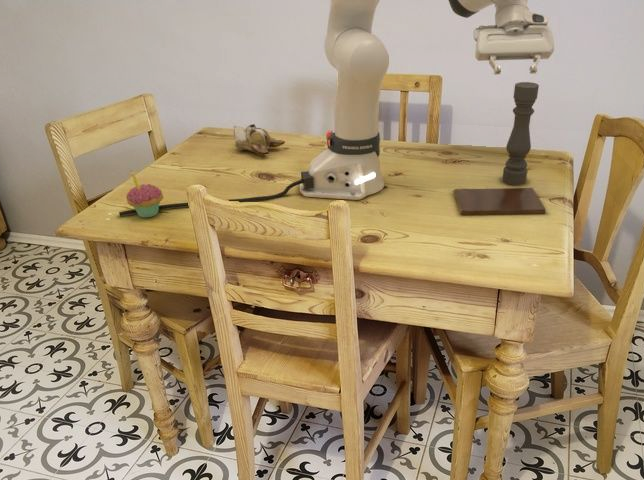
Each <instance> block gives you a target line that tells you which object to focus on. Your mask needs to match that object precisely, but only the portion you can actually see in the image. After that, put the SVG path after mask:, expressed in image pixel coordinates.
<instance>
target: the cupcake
mask: <svg viewBox="0 0 644 480" xmlns="http://www.w3.org/2000/svg"><path fill="white" fill-rule="evenodd" d="M130 172H131V173H130V175H131V177H132V179H133V183H134V185H135V186H134V187H132V188H131V189H130V190H129V191H128V192H127V193H126V202H127V204H128V205H129V206H131V207H133V209H135V210H136V211H137V213H136V214H137V215H138V216H139V217H140V218H151V217H154V216H157V215H158V214H159V210H160V209H159V206H160V203H161V202H162V200H163V199H164V195H163V192H162V190H161V189H160V188H159V187H157V186H155V185H154V184H150V183H147V184H141V185H139V182H138V179H137V177H136V174H135V172H133V170H132V169H131V170H130Z"/></svg>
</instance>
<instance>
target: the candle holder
mask: <svg viewBox="0 0 644 480" xmlns="http://www.w3.org/2000/svg"><path fill="white" fill-rule="evenodd" d="M539 87H540V85H539V84H538V83H537V82H530V81H521V82H516V83H515V84H514V90H513V99H514V101H513V102H514V105H515V107H513V109H512V113H513V114H514V119H513V120H514V121H513V127H512V129H511V132H510V136H509V138H508V140H507V143H506V146H505V147H506V148H505V149H506V152H507V155H508V159H507V160H506V161H505V163H504V165H505V166H504V167H503V170H502V178H501V180H502V183H504V184H506V185H509V186H522V185H526V183H527V177H528V168H527V167H528V163H527V161H526V158H527V155H528V154H529V153H530V151H531V148H532V142H531V133H530V124H531V118H532V115H533V114H534V113H535V109H534V108H533V107H534V104H535V103H536V101H537V99H538V94H539Z"/></svg>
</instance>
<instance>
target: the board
mask: <svg viewBox="0 0 644 480" xmlns="http://www.w3.org/2000/svg"><path fill="white" fill-rule="evenodd" d="M453 194H454V197H455V201H456V203H457V207H458V209H459V212H460V215H461V216H488V215H489V216H491V215H493V216H494V215H495V216H496V215H500V216H501V215H545V214H546V208H545V206H544V204H543V203H542V201H541V200H540V198H539V196H538V195H537V193H536V190H535V189H534V188H533V187H514V188H513V187H511V188H510V187H505V188H503V187H502V188H501V187H500V188H455V189H454V190H453Z"/></svg>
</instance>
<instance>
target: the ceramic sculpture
mask: <svg viewBox="0 0 644 480" xmlns="http://www.w3.org/2000/svg"><path fill="white" fill-rule="evenodd" d="M233 137H234V141H235V142H234V143H235V147H236V149H237V150H238V151H242V152H243V151H244V150H247V151H250V152H253V153H255V154H256V155H258V156H265V155H270V152H269V150H268V149H269V148H278V147H280V146H283V145H285V143H286V142H285V141H279V140H277V139H276V138H275V137H272V136H270V134H269V133H268V132H267V130H265V128H262V127H257V126H256V125H255V124H250V125H248V126H246V128H244V127H243V126H237V125H233Z"/></svg>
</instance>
